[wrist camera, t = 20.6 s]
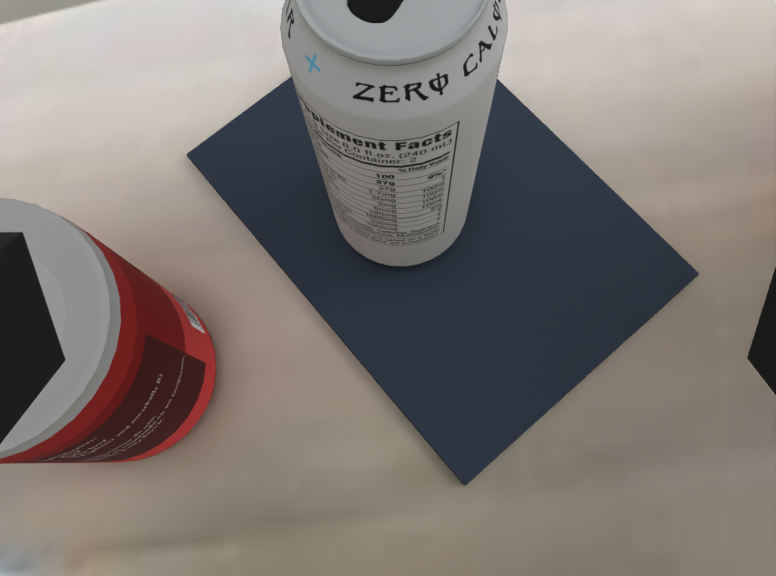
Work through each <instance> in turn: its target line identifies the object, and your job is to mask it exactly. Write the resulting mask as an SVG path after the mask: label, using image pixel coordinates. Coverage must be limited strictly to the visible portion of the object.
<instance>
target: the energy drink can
mask: <svg viewBox="0 0 776 576" xmlns="http://www.w3.org/2000/svg"><path fill="white" fill-rule="evenodd" d="M280 29H281V37H282V45H283V49H284V53H285V56H286V59H287V62H288V66H289V69H290V72H291V75H292V79H293V82H294V85H295V88H296V92H297V95H298V98H299V101H300V105H301V108H302V111H303V114H304V118H305V121H306V124H307V127H308V131H309V134H310V137H311V140H312V144H313V147H314V150H315V153H316V156H317V160H318V163H319V166H320V169H321V173H322V176H323V179H324V182H325V186H326V189H327V192H328V195H329V199H330V202H331V205H332V208H333V212H334V215H335V218H336V221H337V224H338V226H339V229H340V231H341V233H342V234H343V236H344V238H345V239H346V241H347V242H348V243H349V244H350V245H351V246H352V247H353V248H354V249H355V250H356V251H357V252H359V253H360V254H362V255H363V256H364V257H366V258H368V259H370V260H373V261H375V262H377V263H381V264H385V265H390V266H410V265H416V264H420V263H423V262H426V261H429V260H431V259H433V258H435V257H436V256H438V255H440V254H441V253H443V252H444V251H445V250H446V249H447V248H448V247H449V246H451V245H452V244H453V242H454V241H455V239H456V238H457V237H458V235H459V234H460V232H461V230H462V228H463V226H464V223H465V220H466V216H467V211H468V207H469V202H470V198H471V193H472V189H473V184H474V180H475V175H476V171H477V166H478V162H479V157H480V153H481V148H482V144H483V139H484V135H485V130H486V126H487V121H488V117H489V112H490V108H491V103H492V99H493V94H494V90H495V85H496V81H497V76H498V72H499V67H500V63H501V58H502V54H503V50H504V45H505V41H506V36H507V32H508V30H507V9H506V4H505V0H285V3H284V6H283V9H282V17H281V27H280Z"/></svg>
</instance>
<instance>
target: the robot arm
mask: <svg viewBox="0 0 776 576" xmlns="http://www.w3.org/2000/svg"><path fill="white" fill-rule="evenodd" d="M747 358H748V360H749V361H750V362H751V364H752V365H753V366H754V367H755V369H756V370H757V371H758V373H759V374H760V375H761V376H762V378H763V379H764V380H765V382H766V383H767V384H768V386H769V387H770V388H771V389H772V391H773V392H774V393H775V395H776V268H775V271H774V274H773V277H772V280H771V284H770V287H769V290H768V293H767V296H766V300H765V303H764V306H763V309H762V312H761V316H760V319H759V322H758V325H757V328H756V332H755V335H754V338H753V341H752V344H751V348H750V351H749V354H748V357H747ZM64 362H65V357H64V354H63V351H62V348H61V345H60V342H59V339H58V336H57V333H56V330H55V327H54V324H53V321H52V318H51V315H50V312H49V309H48V306H47V303H46V300H45V297H44V294H43V291H42V288H41V285H40V282H39V279H38V276H37V273H36V270H35V267H34V264H33V261H32V258H31V255H30V252H29V249H28V246H27V243H26V240H25V237H24V234H23V232H0V444H1V443H2V441H3V440H4V439H5V438H6V436H7V435H8V434H9V432H10V431H11V430H12V428H13V427H14V426H15V425H16V423H17V422H18V421H19V419H20V418H21V417H22V416H23V414H24V413H25V412H26V410H27V409H28V408H29V407H30V405H31V404H32V403H33V401H34V400H35V399H36V398H37V396H38V395H39V394H40V392H41V391H42V390H43V389H44V387H45V386H46V385H47V383H48V382H49V381H50V380H51V378H52V377H53V376H54V374H55V373H56V372H57V371H58V369H59V368H60V367H61V365H62V364H63V363H64Z"/></svg>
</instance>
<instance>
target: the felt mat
mask: <svg viewBox="0 0 776 576" xmlns="http://www.w3.org/2000/svg"><path fill="white" fill-rule="evenodd" d="M187 156H188V158H189V159H190V160H191V161H192V162H193V164H194V165H195V166H196V167H197V168H198V170H199V171H200V172H201V173H202V174H203V175H204V177H205V178H206V179H207V180H208V181H209V183H210V184H211V185H212V186H213V187H214V189H215V190H216V191H217V192H218V193H219V195H220V196H221V197H222V198H223V199H224V200H225V202H226V203H227V204H228V205H229V206H230V208H231V209H232V210H233V211H234V212H235V214H236V215H237V216H238V217H239V218H240V220H241V221H242V222H243V223H244V224H245V225H246V227H247V228H248V229H249V230H250V231H251V233H252V234H253V235H254V236H255V237H256V239H257V240H258V241H259V242H260V243H261V245H262V246H263V247H264V248H265V249H266V250H267V252H268V253H269V254H270V255H271V256H272V258H273V259H274V260H275V261H276V262H277V264H278V265H279V266H280V267H281V268H282V270H283V271H284V272H285V273H286V274H287V275H288V277H289V278H290V279H291V280H292V281H293V283H294V284H295V285H296V286H297V287H298V289H299V290H300V291H301V292H302V293H303V295H304V296H305V297H306V298H307V299H308V300H309V302H310V303H311V304H312V305H313V306H314V308H315V309H316V310H317V311H318V312H319V314H320V315H321V316H322V317H323V318H324V320H325V321H326V322H327V323H328V324H329V325H330V327H331V328H332V329H333V330H334V331H335V333H336V334H337V335H338V336H339V337H340V339H341V340H342V341H343V342H344V343H345V345H346V346H347V347H348V348H349V349H350V350H351V352H352V353H353V354H354V355H355V356H356V358H357V359H358V360H359V361H360V362H361V364H362V365H363V366H364V367H365V368H366V370H367V371H368V372H369V373H370V374H371V375H372V377H373V378H374V379H375V380H376V381H377V383H378V384H379V385H380V386H381V387H382V389H383V390H384V391H385V392H386V393H387V395H388V396H389V397H390V398H391V399H392V400H393V402H394V403H395V404H396V405H397V406H398V408H399V409H400V410H401V411H402V412H403V414H404V415H405V416H406V417H407V418H408V420H409V421H410V422H411V423H412V424H413V425H414V427H415V428H416V429H417V430H418V431H419V433H420V434H421V435H422V436H423V437H424V439H425V440H426V441H427V442H428V443H429V445H430V446H431V447H432V448H433V449H434V450H435V452H436V453H437V454H438V455H439V456H440V458H441V459H442V460H443V461H444V462H445V464H446V465H447V466H448V467H449V468H450V470H451V471H452V472H453V473H454V474H455V475H456V477H457V478H458V479H459V480H460V481H461V483H462V484H463V485H466V484H467V483H469V482H470V481H471V480H472V479H473V478H474V477H475V476H476V475H477V474H479V473H480V472H481V471H482V470H483V469H484V468H485V467H486V466H487V465H488V464H490V463H491V462H492V461H493V460H494V459H495V458H496V457H497V456H498V455H500V454H501V453H502V452H503V451H504V450H505V449H506V448H507V447H508V446H510V445H511V444H512V443H513V442H514V441H515V440H516V439H517V438H518V437H519V436H521V435H522V434H523V433H524V432H525V431H526V430H527V429H528V428H529V427H531V426H532V425H533V424H534V423H535V422H536V421H537V420H538V419H539V418H540V417H542V416H543V415H544V414H545V413H546V412H547V411H548V410H549V409H550V408H552V407H553V406H554V405H555V404H556V403H557V402H558V401H559V400H560V399H562V398H563V397H564V396H565V395H566V394H567V393H568V392H569V391H570V390H571V389H573V388H574V387H575V386H576V385H577V384H578V383H579V382H580V381H581V380H583V379H584V378H585V377H586V376H587V375H588V374H589V373H590V372H591V371H592V370H594V369H595V368H596V367H597V366H598V365H599V364H600V363H601V362H602V361H604V360H605V359H606V358H607V357H608V356H609V355H610V354H611V353H612V352H613V351H615V350H616V349H617V348H618V347H619V346H620V345H621V344H622V343H623V342H625V341H626V340H627V339H628V338H629V337H630V336H631V335H632V334H633V333H635V332H636V331H637V330H638V329H639V328H640V327H641V326H642V325H643V324H644V323H646V322H647V321H648V320H649V319H650V318H651V317H652V316H653V315H654V314H656V313H657V312H658V311H659V310H660V309H661V308H662V307H663V306H664V305H665V304H667V303H668V302H669V301H670V300H671V299H672V298H673V297H674V296H675V295H677V294H678V293H679V292H680V291H681V290H682V289H683V288H684V287H685V286H687V285H688V284H689V283H690V282H691V281H692V280H693V279H694V278H695V277H696V276H698V275H699V273H698V272H697V271H696V270H695V269H694V268H693V267H692V266H691V265H690V264H689V263H688V262H686V261H685V260H684V259H683V258H682V257H681V256H680V255H679V254H678V253H677V252H676V251H675V250H674V249H673V248H672V247H671V246H670V245H669V244H668V243H667V242H666V241H665V240H664V239H663V238H662V237H661V236H660V235H659V234H657V233H656V232H655V231H654V230H653V229H652V228H651V227H650V226H649V225H648V224H647V223H646V222H645V221H644V220H643V219H642V218H641V217H640V216H639V215H638V214H637V213H636V212H635V211H634V210H633V209H632V208H631V207H629V206H628V205H627V204H626V203H625V202H624V201H623V200H622V199H621V198H620V197H619V196H618V195H617V194H616V193H615V192H614V191H613V190H612V189H611V188H610V187H609V186H608V185H607V184H606V183H605V182H604V181H603V180H602V179H600V178H599V177H598V176H597V175H596V174H595V173H594V172H593V171H592V170H591V169H590V168H589V167H588V166H587V165H586V164H585V163H584V162H583V161H582V160H581V159H580V158H579V157H578V156H577V155H576V154H575V153H574V152H572V151H571V150H570V149H569V148H568V147H567V146H566V145H565V144H564V143H563V142H562V141H561V140H560V139H559V138H558V137H557V136H556V135H555V134H554V133H553V132H552V131H551V130H550V129H549V128H548V127H547V126H546V125H545V124H543V123H542V122H541V121H540V120H539V119H538V118H537V117H536V116H535V115H534V114H533V113H532V112H531V111H530V110H529V109H528V108H527V107H526V106H525V105H524V104H523V103H522V102H521V101H520V100H519V99H518V98H517V97H515V96H514V95H513V94H512V93H511V92H510V91H509V90H508V89H507V88H506V87H505V86H504V85H503V84H502V83H501V82H500V81H499V80H498V79H497V81H496V85H495V90H494V94H493V99H492V103H491V108H490V112H489V117H488V121H487V126H486V130H485V135H484V139H483V144H482V148H481V153H480V157H479V162H478V166H477V171H476V175H475V180H474V184H473V189H472V193H471V198H470V202H469V207H468V211H467V216H466V220H465V223H464V226H463V228H462V230H461V232H460V234H459V235H458V237H457V238H456V239H455V241H454V242H453V244H452V245H451V246H449V247H448V248H447V249H446V250H445V251H444V252H443V253H441V254H440V255H438V256H436V257H435V258H433V259H431V260H429V261H426V262H423V263H420V264H416V265H410V266H390V265H385V264H381V263H377V262H375V261H373V260H370V259H368V258H366V257H364V256H363V255H362V254H360V253H359V252H357V251H356V250H355V249H354V248H353V247H352V246H351V245H350V244H349V243H348V242H347V241H346V239H345V238H344V236H343V234H342V233H341V231H340V229H339V226H338V224H337V221H336V218H335V215H334V212H333V208H332V205H331V202H330V199H329V195H328V192H327V189H326V186H325V182H324V179H323V176H322V173H321V169H320V166H319V163H318V160H317V156H316V153H315V150H314V147H313V144H312V140H311V137H310V134H309V131H308V127H307V124H306V121H305V118H304V114H303V111H302V108H301V105H300V101H299V98H298V95H297V92H296V88H295V85H294V82H293V79H292V77H290V78H289V79H288V80H286V81H285V82H284V83H282V84H281V85H279V86H278V87H277V88H275V89H274V90H273V91H271V92H270V93H269V94H267V95H266V96H265V97H263V98H262V99H261V100H259V101H258V102H257V103H255V104H254V105H253V106H251V107H250V108H248V109H247V110H246V111H244V112H243V113H242V114H240V115H239V116H238V117H236V118H235V119H234V120H232V121H231V122H230V123H228V124H227V125H226V126H224V127H223V128H221V129H220V130H219V131H217V132H216V133H215V134H213V135H212V136H211V137H209V138H208V139H207V140H205V141H204V142H203V143H201V144H200V145H199V146H197V147H196V148H194V149H193V150H192V151H190V152H189V153H188V154H187Z"/></svg>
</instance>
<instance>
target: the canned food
mask: <svg viewBox="0 0 776 576" xmlns="http://www.w3.org/2000/svg"><path fill="white" fill-rule="evenodd" d="M0 232H23V234H24V237H25V240H26V243H27V246H28V249H29V252H30V255H31V258H32V261H33V264H34V267H35V270H36V273H37V276H38V279H39V282H40V285H41V288H42V291H43V294H44V297H45V300H46V303H47V306H48V309H49V312H50V315H51V318H52V321H53V324H54V327H55V330H56V333H57V336H58V339H59V342H60V345H61V348H62V351H63V354H64V357H65V362H64V363H63V364H62V365H61V367H60V368H59V369H58V371H57V372H56V373H55V374H54V376H53V377H52V378H51V380H50V381H49V382H48V383H47V385H46V386H45V387H44V389H43V390H42V391H41V392H40V394H39V395H38V396H37V398H36V399H35V400H34V401H33V403H32V404H31V405H30V407H29V408H28V409H27V410H26V412H25V413H24V414H23V416H22V417H21V418H20V419H19V421H18V422H17V423H16V425H15V426H14V427H13V428H12V430H11V431H10V432H9V434H8V435H7V436H6V438H5V439H4V440H3V441H2V443H1V444H0V463H100V462H127V461H135V460H141V459H144V458H147V457H150V456H153V455H156V454H158V453H160V452H162V451H164V450H165V449H167V448H169V447H171V446H173V445H174V444H175V443H176V442H178V441H179V440H180V439H181V438H183V437H184V436H185V435H186V434H187V433H188V432H189V431H190V430H191V429H192V427H193V426H194V425H195V424H196V423H197V421H198V420H199V419H200V418H201V416H202V415H203V413H204V411H205V409H206V407H207V406H208V404H209V401H210V398H211V395H212V392H213V389H214V384H215V376H216V361H215V351H214V347H213V344H212V341H211V337H210V335H209V333H208V331H207V329H206V327H205V325H204V324H203V322H202V320H201V319H200V318H199V317H198V315H197V314H196V313H195V312H194V311H193V310H192V308H190V307H189V306H188V305H186V304H185V303H184V302H183V301H181V300H180V299H179V298H177V297H176V296H175V295H173V294H172V293H170V292H169V291H168V290H166V289H165V288H163V287H162V286H161V285H159V284H158V283H157V282H155V281H154V280H152V279H151V278H150V277H148V276H147V275H145V274H144V273H143V272H141V271H140V270H139V269H137V268H136V267H134V266H133V265H132V264H130V263H129V262H128V261H126V260H125V259H123V258H122V257H121V256H119V255H118V254H116V253H115V252H114V251H112V250H111V249H110V248H108V247H107V246H105V245H104V244H103V243H101V242H100V241H98V240H97V239H96V238H94V237H93V236H92V235H90V234H89V233H87V232H86V231H84V230H82V229H81V228H79V227H78V226H76V225H75V224H73V223H72V222H71V221H69V220H67V219H65V218H63V217H61V216H59V215H57V214H55V213H53V212H50V211H48V210H46V209H44V208H42V207H40V206H38V205H35V204H31V203H27V202H23V201H19V200H15V199H3V198H0Z"/></svg>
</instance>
